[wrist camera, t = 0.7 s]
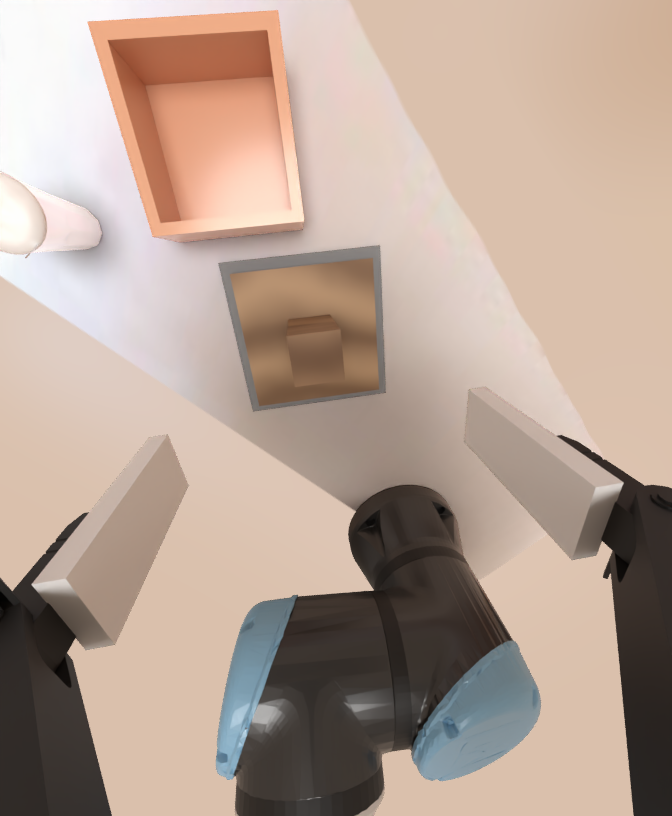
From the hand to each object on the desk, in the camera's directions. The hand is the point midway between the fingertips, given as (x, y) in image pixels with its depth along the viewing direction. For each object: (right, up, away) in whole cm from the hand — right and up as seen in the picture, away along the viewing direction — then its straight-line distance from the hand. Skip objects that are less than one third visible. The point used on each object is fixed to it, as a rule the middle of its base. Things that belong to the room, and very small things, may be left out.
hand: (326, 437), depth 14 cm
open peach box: (-9, +22, +12) cm, 26 cm away
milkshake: (-21, +16, +13) cm, 30 cm away
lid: (-2, +9, +18) cm, 20 cm away
